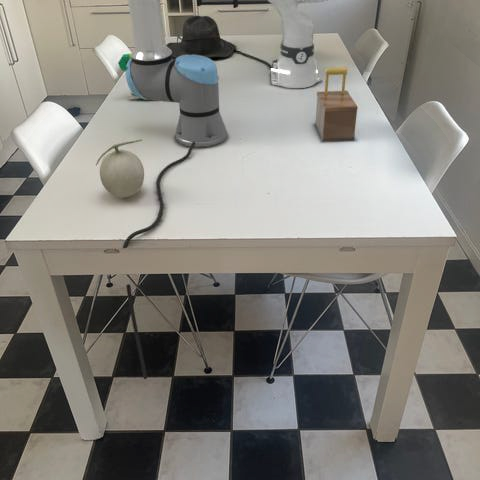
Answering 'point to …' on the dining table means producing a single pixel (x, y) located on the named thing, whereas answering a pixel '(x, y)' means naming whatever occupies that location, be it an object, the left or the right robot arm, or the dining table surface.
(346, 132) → the chest
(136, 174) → the fruit
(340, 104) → the lid
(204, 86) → the left robot arm
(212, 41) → the hat
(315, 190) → the dining table surface
